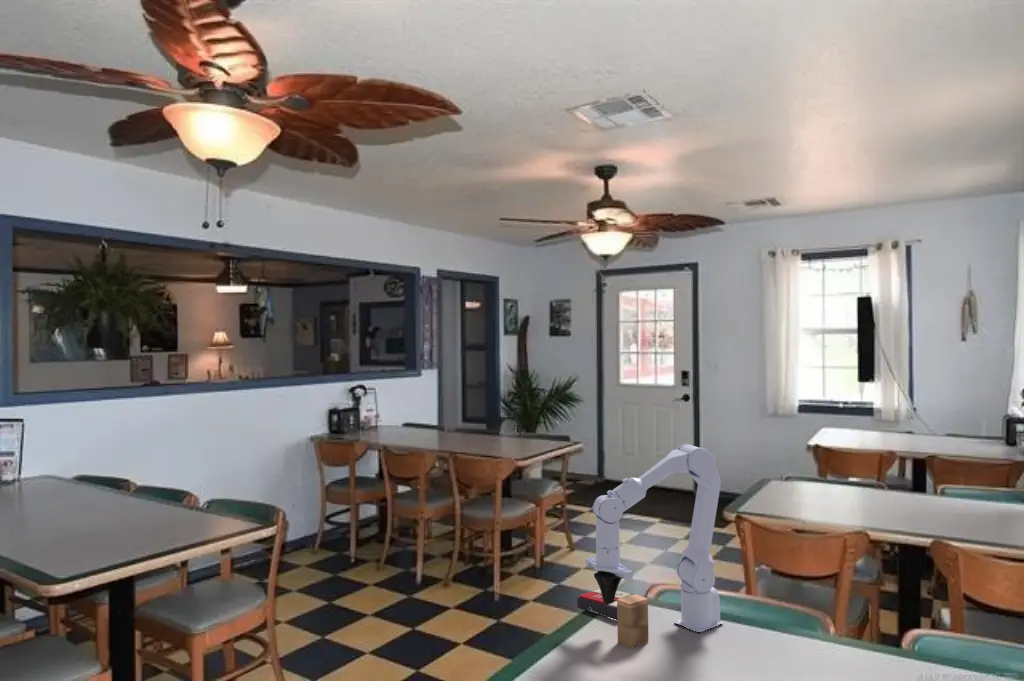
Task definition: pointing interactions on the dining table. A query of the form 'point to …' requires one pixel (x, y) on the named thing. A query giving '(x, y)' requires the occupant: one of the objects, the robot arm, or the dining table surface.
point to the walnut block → (632, 620)
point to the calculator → (600, 603)
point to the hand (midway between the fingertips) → (608, 602)
